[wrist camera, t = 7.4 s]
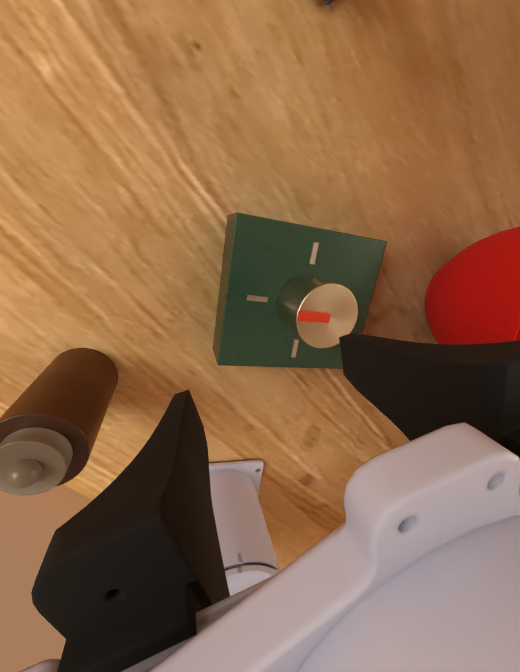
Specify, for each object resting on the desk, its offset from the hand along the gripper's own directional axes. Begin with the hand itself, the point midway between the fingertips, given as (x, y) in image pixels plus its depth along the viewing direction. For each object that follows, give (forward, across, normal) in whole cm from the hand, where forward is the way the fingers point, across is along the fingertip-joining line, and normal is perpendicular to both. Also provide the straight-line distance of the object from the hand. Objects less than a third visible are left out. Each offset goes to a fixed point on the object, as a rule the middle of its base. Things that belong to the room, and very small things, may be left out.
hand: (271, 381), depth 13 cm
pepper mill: (+10, +11, +1) cm, 15 cm away
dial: (+7, -5, 0) cm, 9 cm away
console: (+10, -5, 0) cm, 12 cm away
